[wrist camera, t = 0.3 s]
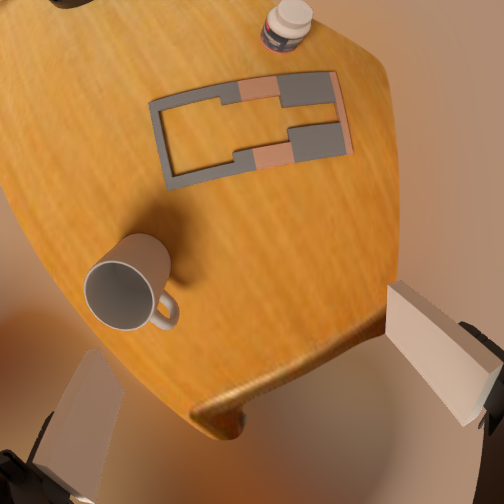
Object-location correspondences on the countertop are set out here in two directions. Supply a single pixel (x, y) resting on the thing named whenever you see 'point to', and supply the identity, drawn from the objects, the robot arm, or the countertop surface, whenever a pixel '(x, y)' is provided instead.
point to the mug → (132, 285)
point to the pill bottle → (286, 26)
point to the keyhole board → (296, 150)
